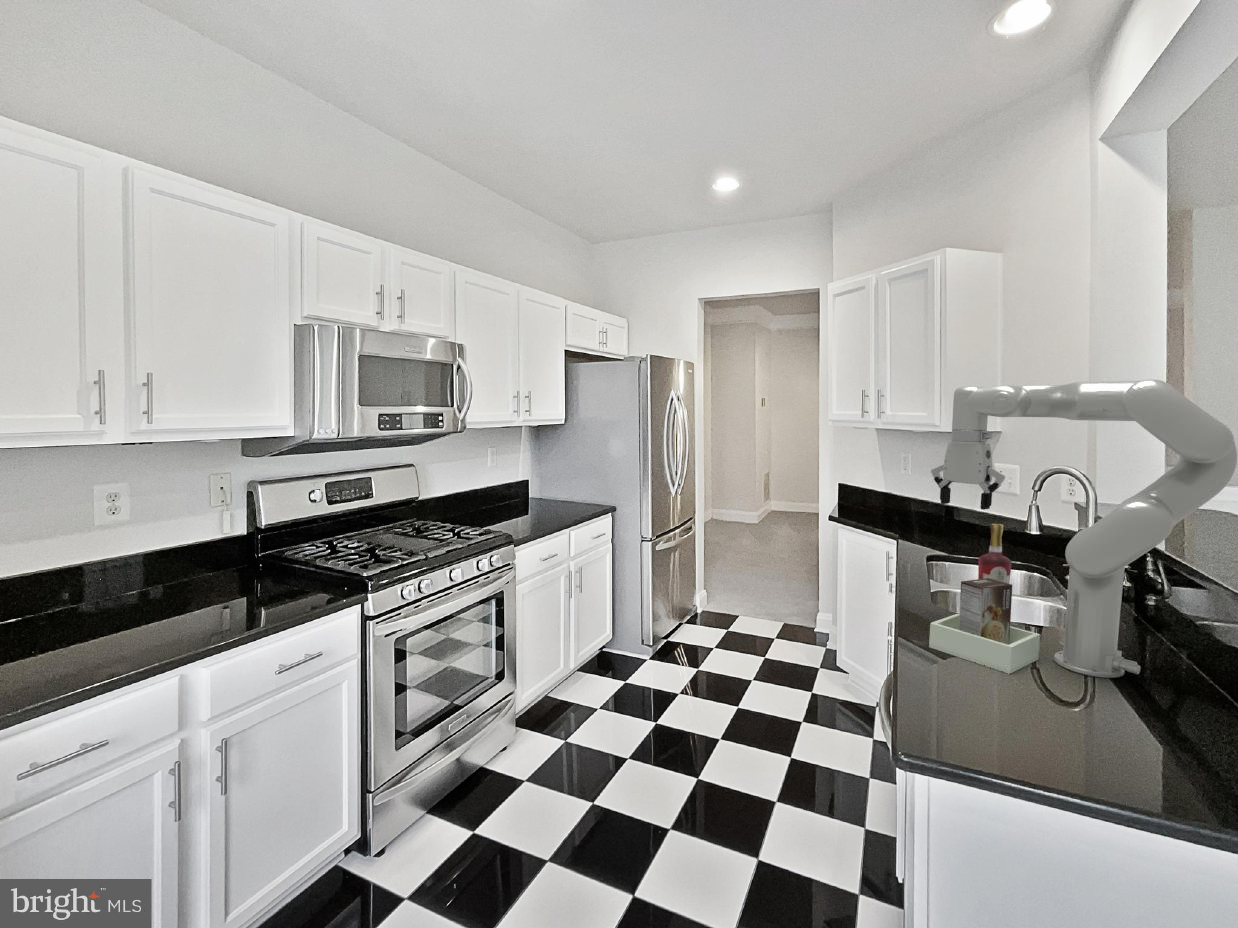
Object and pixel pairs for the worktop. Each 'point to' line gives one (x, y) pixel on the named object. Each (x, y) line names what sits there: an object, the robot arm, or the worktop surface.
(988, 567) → the liquor
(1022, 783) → the worktop surface
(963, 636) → the bin
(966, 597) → the coffee box
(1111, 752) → the worktop surface
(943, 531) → the worktop surface
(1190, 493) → the robot arm
